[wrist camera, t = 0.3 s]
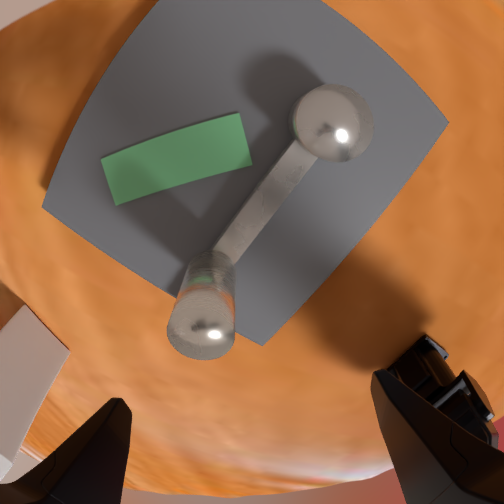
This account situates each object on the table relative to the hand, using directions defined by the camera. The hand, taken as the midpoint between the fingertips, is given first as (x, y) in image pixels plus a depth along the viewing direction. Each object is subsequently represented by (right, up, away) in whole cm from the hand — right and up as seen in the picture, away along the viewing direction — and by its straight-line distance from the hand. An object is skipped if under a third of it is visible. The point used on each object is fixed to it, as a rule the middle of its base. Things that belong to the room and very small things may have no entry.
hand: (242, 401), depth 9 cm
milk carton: (-23, -5, +16) cm, 29 cm away
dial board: (0, +12, +9) cm, 15 cm away
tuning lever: (+1, +7, +8) cm, 11 cm away
